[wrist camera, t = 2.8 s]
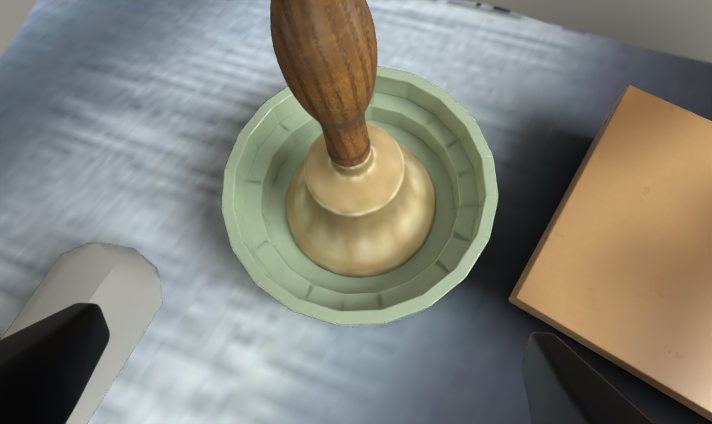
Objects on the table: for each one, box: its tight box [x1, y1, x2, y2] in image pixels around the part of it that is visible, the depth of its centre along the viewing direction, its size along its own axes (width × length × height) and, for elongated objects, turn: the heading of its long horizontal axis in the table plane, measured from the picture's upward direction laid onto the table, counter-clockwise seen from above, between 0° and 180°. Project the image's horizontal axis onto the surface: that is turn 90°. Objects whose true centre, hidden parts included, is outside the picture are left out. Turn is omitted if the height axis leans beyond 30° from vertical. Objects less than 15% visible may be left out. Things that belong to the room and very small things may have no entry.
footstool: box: [508, 85, 712, 421], centre depth 19 cm, size 14×12×4 cm
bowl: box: [221, 66, 498, 327], centre depth 22 cm, size 13×13×4 cm
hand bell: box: [270, 0, 436, 278], centre depth 15 cm, size 8×8×16 cm
